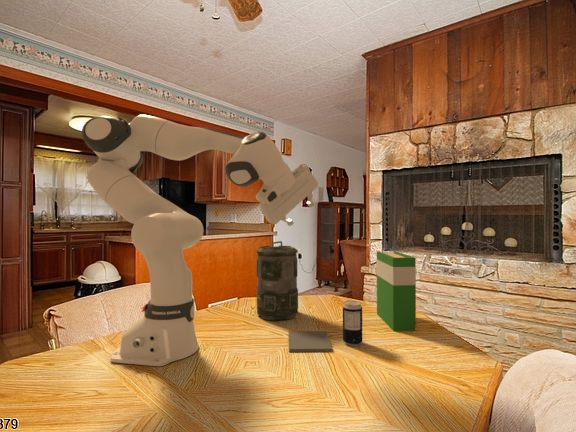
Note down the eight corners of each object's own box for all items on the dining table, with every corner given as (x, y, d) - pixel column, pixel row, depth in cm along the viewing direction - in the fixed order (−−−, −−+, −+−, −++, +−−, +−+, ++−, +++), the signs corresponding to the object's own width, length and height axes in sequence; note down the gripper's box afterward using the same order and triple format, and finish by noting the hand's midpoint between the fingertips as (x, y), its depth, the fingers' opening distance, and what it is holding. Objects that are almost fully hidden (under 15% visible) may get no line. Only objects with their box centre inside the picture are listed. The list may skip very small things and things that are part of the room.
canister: (287, 324, 109) (286, 244, 109) (248, 317, 116) (248, 242, 116) (304, 311, 123) (304, 240, 123) (269, 306, 130) (268, 239, 130)
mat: (289, 351, 87) (289, 349, 87) (288, 333, 100) (288, 331, 100) (331, 351, 87) (331, 348, 87) (325, 333, 100) (325, 331, 100)
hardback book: (376, 313, 120) (376, 251, 119) (396, 313, 120) (395, 251, 120) (393, 331, 102) (393, 257, 102) (415, 330, 102) (415, 257, 102)
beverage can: (366, 344, 92) (366, 303, 92) (352, 348, 89) (352, 306, 89) (352, 337, 97) (352, 299, 97) (338, 342, 93) (338, 302, 93)
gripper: (299, 160, 99) (318, 193, 106) (251, 200, 94) (274, 232, 101) (310, 161, 94) (329, 196, 101) (260, 204, 89) (284, 238, 96)
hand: (301, 215), depth 101 cm, fingers open, 8 cm apart
